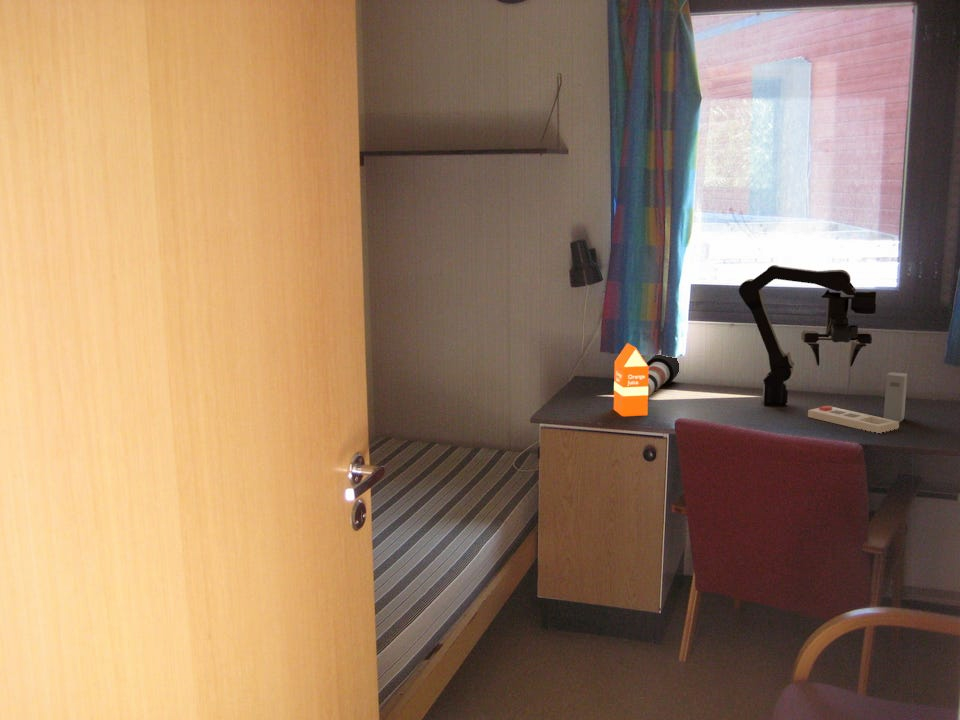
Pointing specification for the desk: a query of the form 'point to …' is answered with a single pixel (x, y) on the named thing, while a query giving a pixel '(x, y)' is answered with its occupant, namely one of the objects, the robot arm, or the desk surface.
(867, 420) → the power strip
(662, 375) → the telephoto camera lens
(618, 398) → the orange juice
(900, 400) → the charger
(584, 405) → the desk surface
